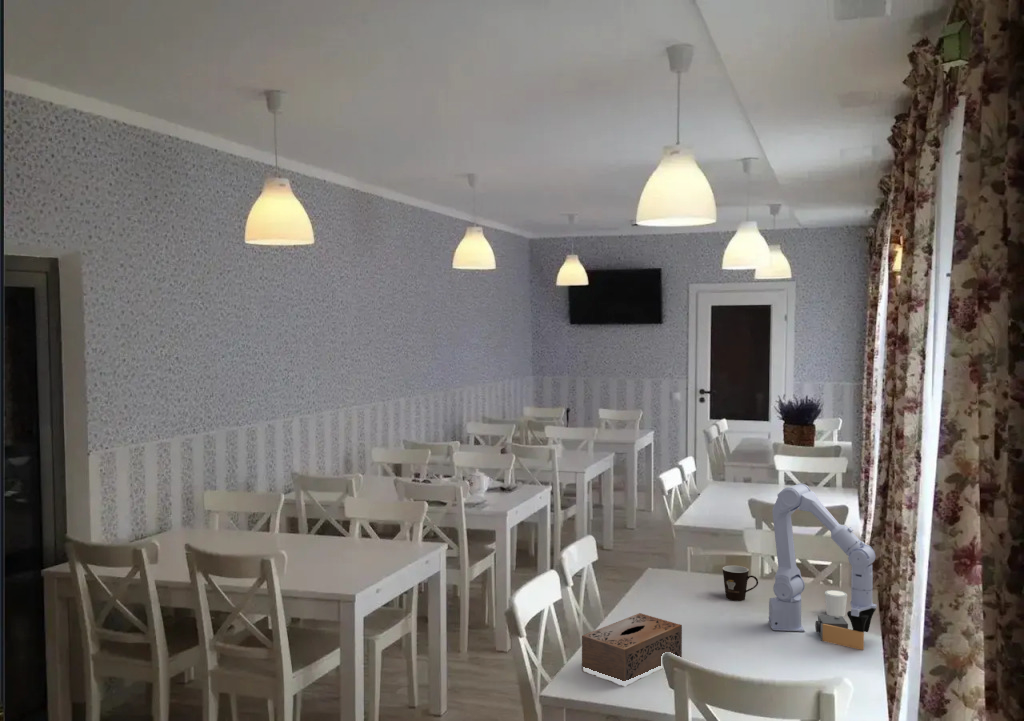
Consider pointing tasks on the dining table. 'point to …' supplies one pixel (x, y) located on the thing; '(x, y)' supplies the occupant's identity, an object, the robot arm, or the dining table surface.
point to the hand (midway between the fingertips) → (861, 634)
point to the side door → (842, 636)
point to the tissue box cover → (630, 646)
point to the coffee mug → (736, 582)
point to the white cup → (835, 602)
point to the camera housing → (830, 622)
